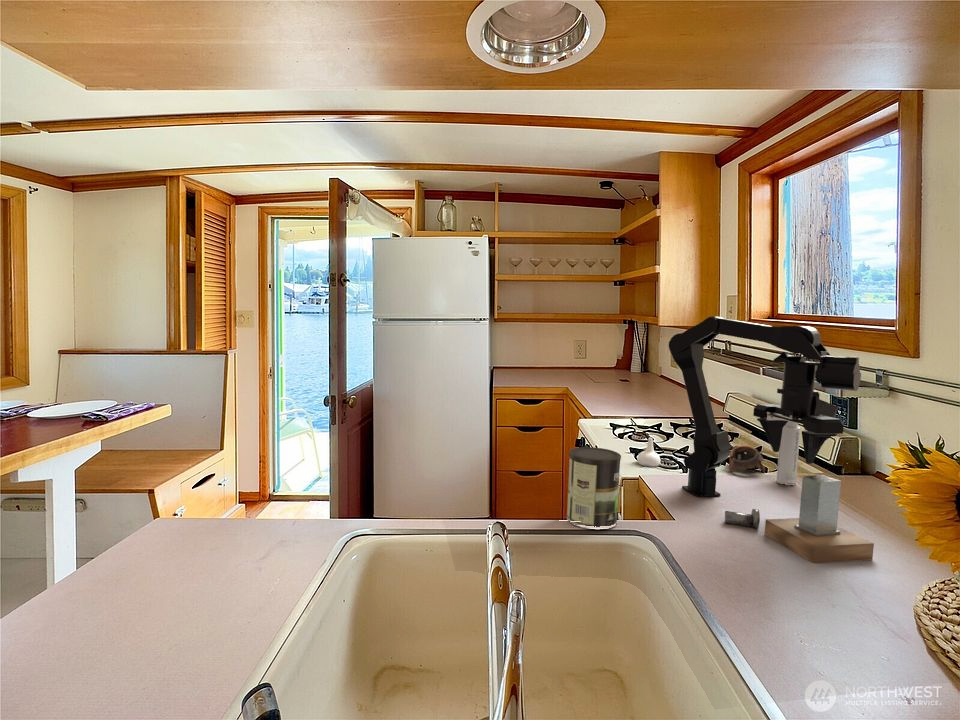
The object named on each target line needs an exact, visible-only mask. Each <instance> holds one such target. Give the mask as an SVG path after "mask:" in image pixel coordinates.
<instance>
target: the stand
mask: <svg viewBox="0 0 960 720" xmlns="http://www.w3.org/2000/svg"><path fill="white" fill-rule="evenodd" d="M764 523H765V524H764V532H763V533H764V535H765V536H767V537H768V538H770V539H772V540H774V541H775V542H777V543H779V544H780V545H783V546H784V547H786V548H787V549H789V550H791V551H792V552H794V553H795V554H798V555H799V556H801V557H803V558H805V559H806V560H808V561H810V562H811V563H813V564H819V563H821V564H823V563H836V562H837V563H838V562H839V563H840V562H853V561H854V562H855V561H857V562H858V561H872V560H873V558H874V557H873V556H874V555H873V554H874V548H875V547H874V546H875V543H874V542H872V541H870V540H868V539H865V538H863V537H861V536H859V535H857V534H855V533H853V532H851V531H848V530H846V528H845V529H844V528H842V527H840V526H839V525H837V530H838V531H840V534H837V535H829V536H821V537H814V536H812V535H810V534H808V533H805V532H803V531H801V530H799V529H797V528H794V526H795V525H799V517H794V518H793V517H791V518H766V519H765V522H764Z"/></svg>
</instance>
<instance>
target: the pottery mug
mask: <svg viewBox="0 0 960 720" xmlns="http://www.w3.org/2000/svg"><path fill="white" fill-rule="evenodd" d="M730 449H731V450H730V455H729V459H728V461H729V463H728V469H729V470H730V471H731V472H732V471H733V472H734V470H736V471H737V470H741V471H742V470H744V471H747V470H752V469H759V470H760V471H761V472H762V473H763V472H765V471H766V467H765V465H764V463H763V462H765V459H764V458H763V455H762V454H761V453H760V452H759V450H758V449H757V448H755V447H753V446H750V445H733V446H732V447H731V448H730ZM754 467H756V468H754Z"/></svg>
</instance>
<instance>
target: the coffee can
mask: <svg viewBox="0 0 960 720" xmlns="http://www.w3.org/2000/svg"><path fill="white" fill-rule="evenodd" d="M568 455H569V461H568V462H569V463H568V464H569V465H568V489H567V507H566V510H567V511H566V520H567V522H569V521H581V522H569V523H570V524H571V523H572V524H571V525H573V524H575V525H585V526H594V527H595V526H596V527H600V526H611V525H614V524H616V522H617V523H618V507H619V506H618V505H619V502H618V501H619V488H620V487H619V486H620V469H621V460H622V455H621V454H620V453H619V452H617V451H615V450H611V449H607V448H604V447H603V448H601V447H591V446H590V447H589V446H582V447H574V448H571V449H570V450H569V452H568ZM575 525H574V526H575Z"/></svg>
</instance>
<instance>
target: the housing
mask: <svg viewBox="0 0 960 720" xmlns="http://www.w3.org/2000/svg"><path fill="white" fill-rule="evenodd" d="M801 483H802V484H801V493H800V494H801V495H800V506H799V515H798V516H799V517H798V518H799V525H795V526H794V528H797V529H799V530H801V531H803V532H805V533H808V534H810V535H812V536H814V537H821V536H829V535H837V534H840V531H838V530H837V526H838V519H839V518H838V517H839V507H840V499H841V498H840V496H841V485H842V480H839V479H837V478H833V477H831V476H827V475H825V474H816V475H804V476H802V481H801Z"/></svg>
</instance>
